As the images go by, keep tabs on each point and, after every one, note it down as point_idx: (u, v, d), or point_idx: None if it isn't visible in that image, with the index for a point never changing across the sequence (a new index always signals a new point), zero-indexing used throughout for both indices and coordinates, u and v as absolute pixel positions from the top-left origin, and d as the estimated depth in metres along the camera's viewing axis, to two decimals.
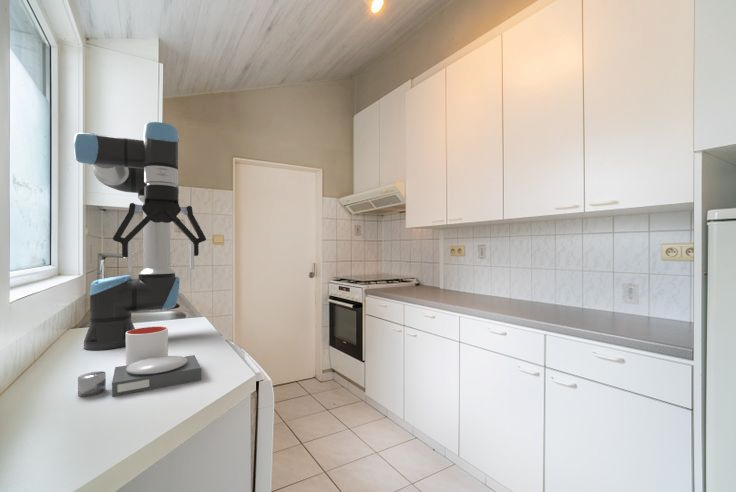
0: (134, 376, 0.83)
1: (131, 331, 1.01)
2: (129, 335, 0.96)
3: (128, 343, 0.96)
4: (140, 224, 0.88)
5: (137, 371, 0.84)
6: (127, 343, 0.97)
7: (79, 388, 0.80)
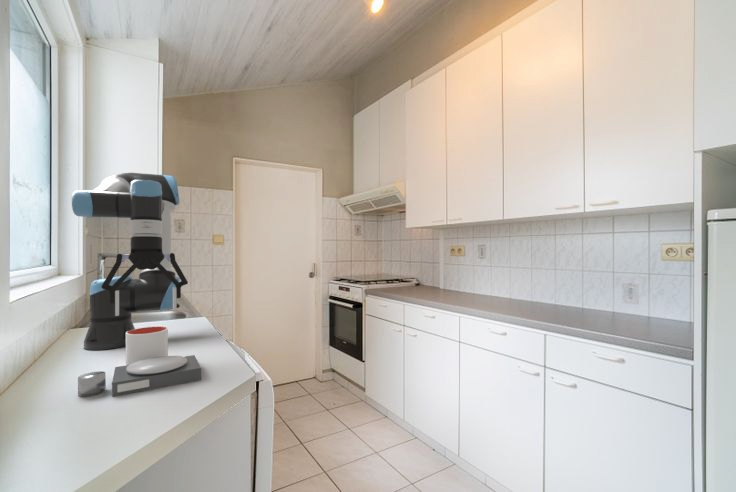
0: (134, 376, 0.83)
1: (131, 331, 1.01)
2: (129, 335, 0.96)
3: (128, 343, 0.96)
4: (126, 272, 0.97)
5: (137, 371, 0.84)
6: (127, 343, 0.97)
7: (79, 388, 0.80)
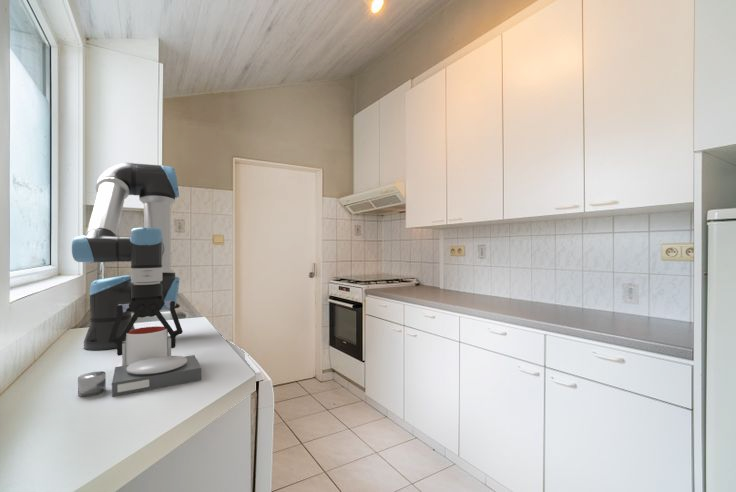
0: (134, 376, 0.83)
1: (131, 331, 1.01)
2: (129, 335, 0.96)
3: (128, 343, 0.96)
4: (130, 323, 0.98)
5: (137, 371, 0.84)
6: (127, 343, 0.97)
7: (79, 388, 0.80)
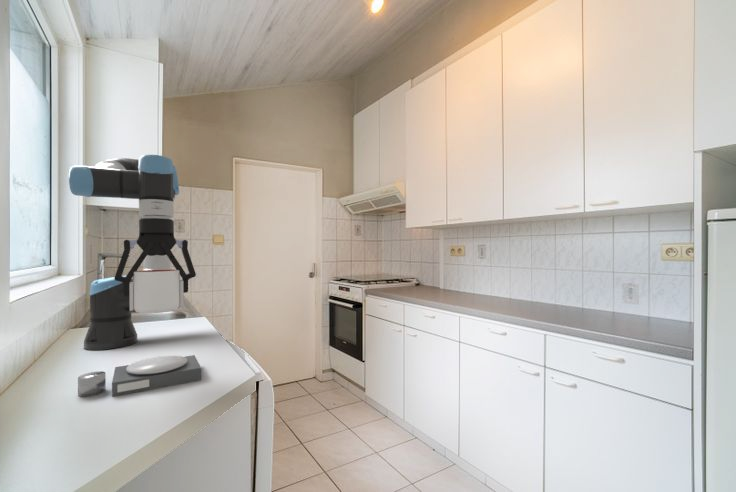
0: (134, 376, 0.83)
1: (139, 272, 0.91)
2: (137, 273, 0.86)
3: (136, 282, 0.86)
4: (138, 261, 0.87)
5: (137, 371, 0.84)
6: (135, 282, 0.86)
7: (79, 388, 0.80)
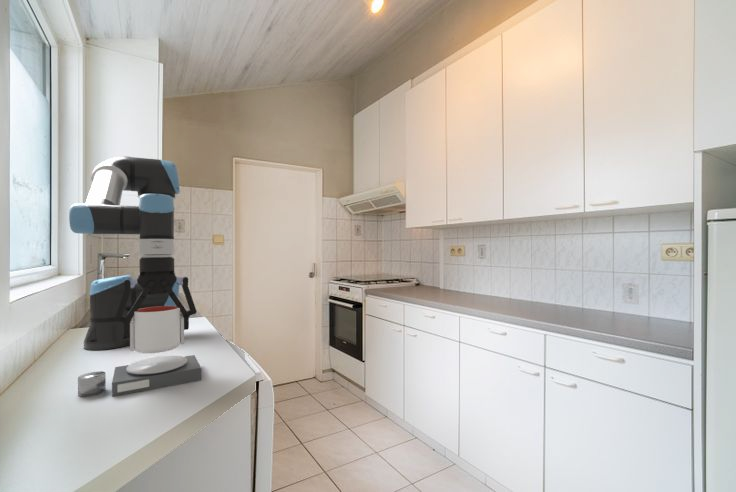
0: (134, 376, 0.83)
1: (139, 310, 0.90)
2: (138, 313, 0.85)
3: (137, 322, 0.86)
4: (138, 300, 0.87)
5: (137, 371, 0.84)
6: (135, 322, 0.86)
7: (79, 388, 0.80)
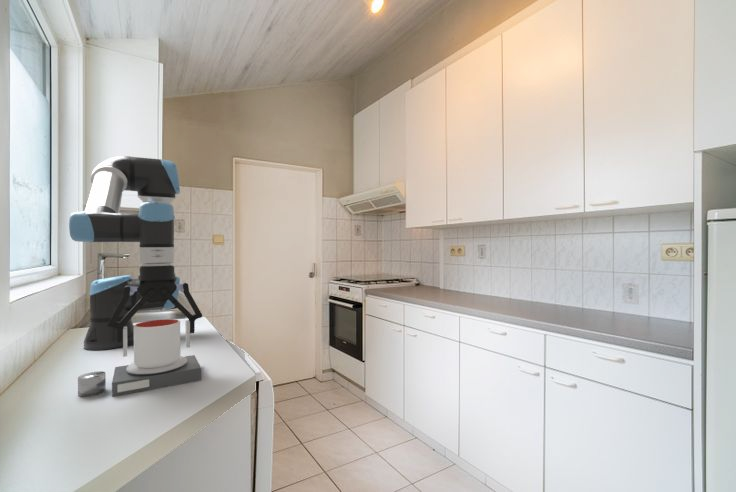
0: (134, 376, 0.83)
1: (139, 324, 0.91)
2: (138, 328, 0.85)
3: (137, 337, 0.86)
4: (135, 307, 0.87)
5: (137, 371, 0.84)
6: (135, 337, 0.86)
7: (79, 388, 0.80)
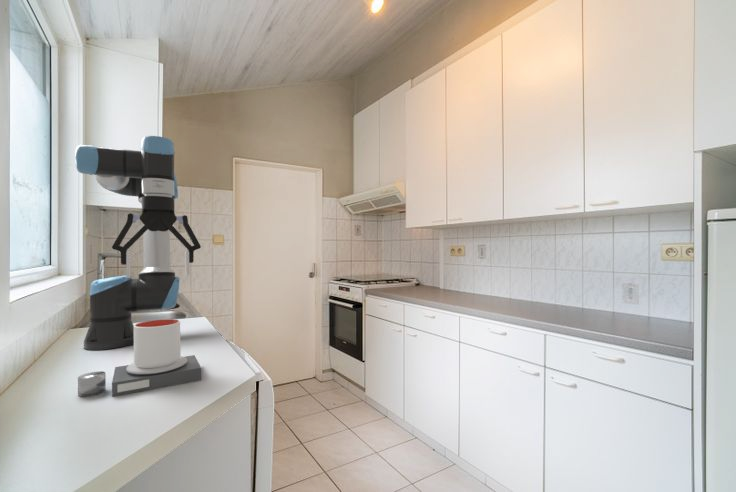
0: (134, 376, 0.83)
1: (139, 324, 0.90)
2: (138, 328, 0.85)
3: (137, 337, 0.86)
4: (138, 233, 0.93)
5: (137, 371, 0.84)
6: (135, 337, 0.86)
7: (79, 388, 0.80)
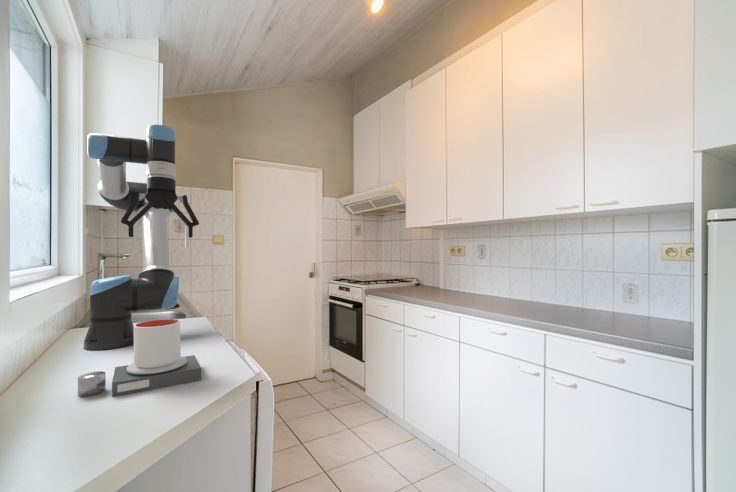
0: (134, 376, 0.83)
1: (139, 324, 0.91)
2: (138, 328, 0.85)
3: (136, 337, 0.86)
4: (143, 209, 1.06)
5: (137, 371, 0.84)
6: (135, 337, 0.86)
7: (79, 388, 0.80)
